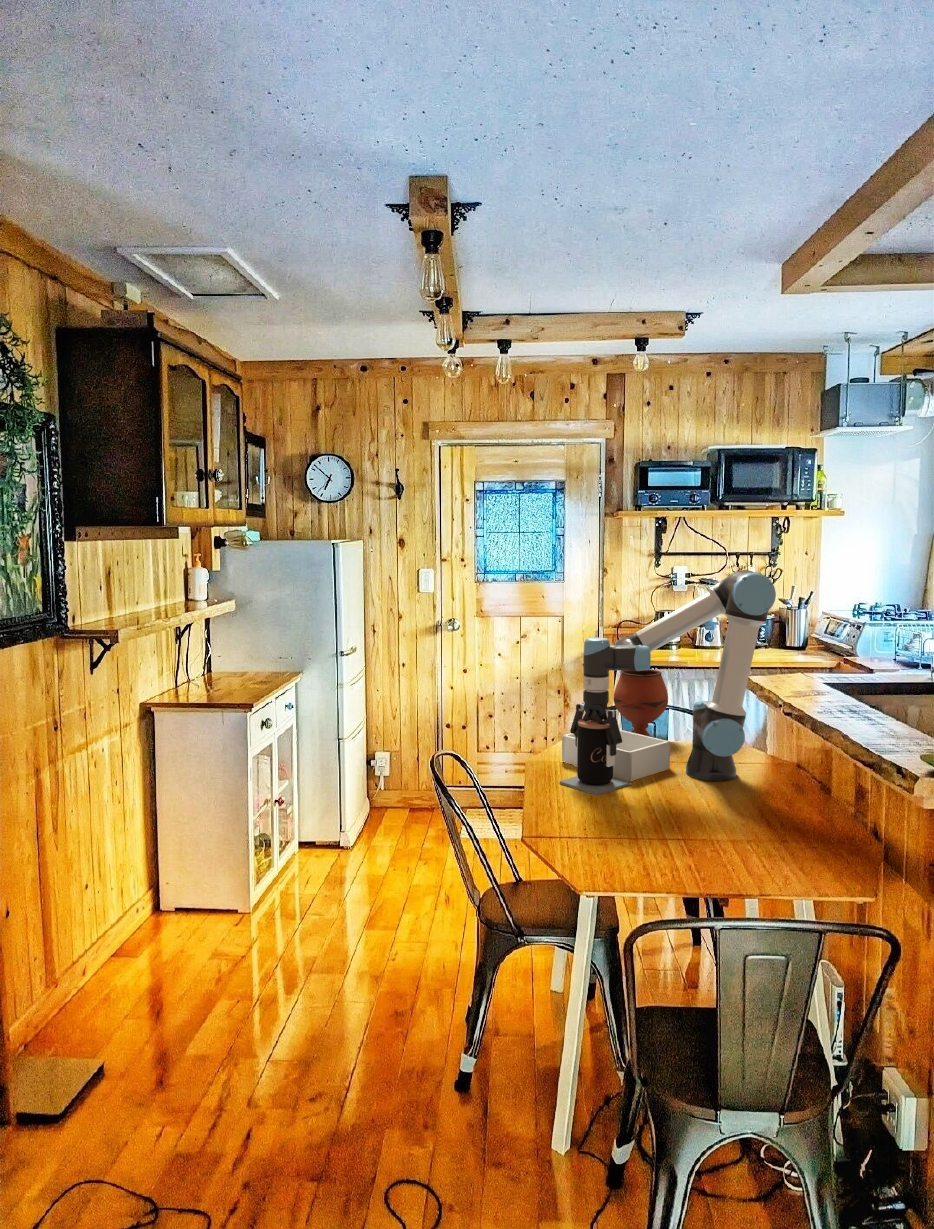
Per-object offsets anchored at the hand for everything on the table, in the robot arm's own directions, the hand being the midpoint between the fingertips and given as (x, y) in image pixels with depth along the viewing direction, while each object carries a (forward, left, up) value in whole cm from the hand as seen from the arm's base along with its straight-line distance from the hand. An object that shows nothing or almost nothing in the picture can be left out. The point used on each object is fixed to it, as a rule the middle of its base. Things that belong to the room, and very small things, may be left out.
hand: (595, 761), depth 264 cm
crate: (+9, -20, -7) cm, 23 cm away
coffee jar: (0, 0, -6) cm, 6 cm away
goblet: (+25, -53, -7) cm, 59 cm away
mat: (0, 0, -7) cm, 7 cm away
